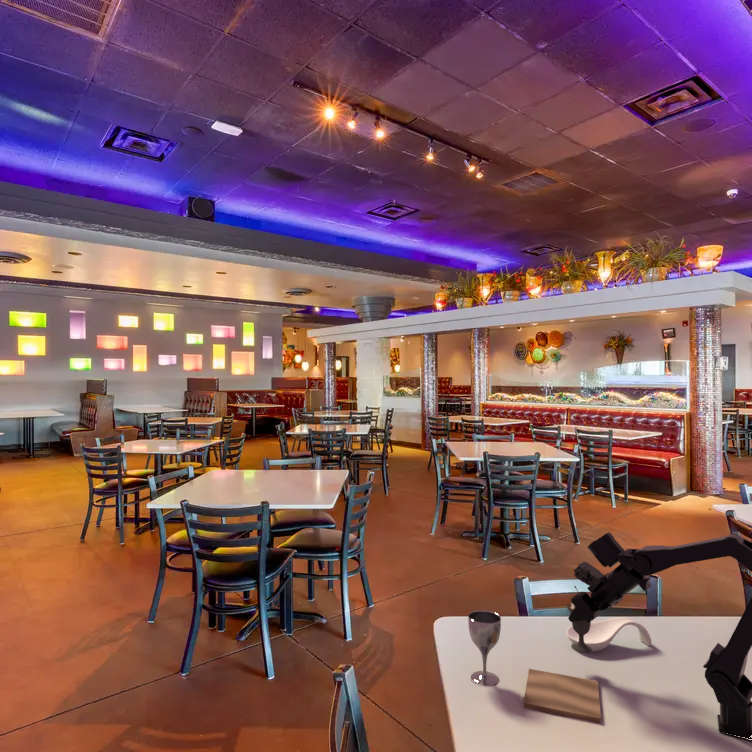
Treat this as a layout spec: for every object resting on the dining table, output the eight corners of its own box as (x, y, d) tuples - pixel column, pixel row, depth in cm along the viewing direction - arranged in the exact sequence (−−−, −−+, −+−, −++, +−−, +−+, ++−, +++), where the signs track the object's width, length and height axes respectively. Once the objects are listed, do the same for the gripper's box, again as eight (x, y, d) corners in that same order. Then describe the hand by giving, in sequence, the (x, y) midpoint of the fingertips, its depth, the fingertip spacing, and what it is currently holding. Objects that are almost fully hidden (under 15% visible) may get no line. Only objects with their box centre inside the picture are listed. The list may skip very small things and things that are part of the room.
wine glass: (477, 689, 124) (477, 624, 125) (463, 672, 132) (463, 612, 133) (507, 684, 126) (506, 621, 127) (491, 668, 134) (491, 608, 135)
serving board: (600, 723, 111) (600, 718, 111) (523, 707, 117) (523, 702, 117) (597, 685, 126) (597, 681, 126) (529, 672, 132) (529, 668, 132)
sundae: (572, 639, 138) (571, 582, 139) (598, 647, 134) (597, 587, 135) (563, 649, 133) (562, 589, 134) (591, 657, 129) (589, 595, 129)
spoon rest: (580, 658, 140) (580, 631, 140) (558, 638, 152) (558, 613, 152) (660, 653, 144) (660, 626, 144) (633, 634, 155) (633, 609, 156)
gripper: (609, 547, 138) (570, 580, 146) (578, 562, 125) (536, 597, 133) (641, 585, 132) (599, 617, 140) (612, 604, 119) (567, 638, 127)
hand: (575, 616), depth 135 cm, fingers closed on sundae, 6 cm apart
